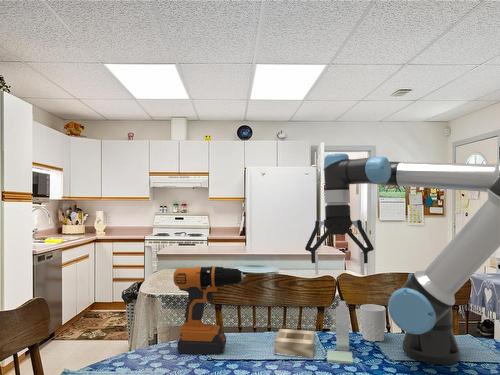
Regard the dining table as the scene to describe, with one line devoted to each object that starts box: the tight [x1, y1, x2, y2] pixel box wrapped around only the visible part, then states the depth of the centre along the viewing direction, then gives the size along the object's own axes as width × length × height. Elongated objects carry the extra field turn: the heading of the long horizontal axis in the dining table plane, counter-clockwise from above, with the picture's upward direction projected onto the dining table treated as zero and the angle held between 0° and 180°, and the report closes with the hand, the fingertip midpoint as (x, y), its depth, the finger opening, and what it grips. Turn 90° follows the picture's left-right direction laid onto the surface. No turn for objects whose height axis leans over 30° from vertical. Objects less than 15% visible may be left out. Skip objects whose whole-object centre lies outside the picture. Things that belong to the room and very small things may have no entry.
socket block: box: [273, 328, 316, 359], centre depth 115 cm, size 11×11×4 cm
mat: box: [326, 349, 354, 365], centre depth 108 cm, size 7×7×1 cm
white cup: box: [359, 303, 387, 343], centre depth 124 cm, size 8×8×10 cm
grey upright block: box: [335, 300, 350, 352], centre depth 116 cm, size 4×6×14 cm, turn 168°
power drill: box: [173, 265, 247, 355], centre depth 114 cm, size 22×7×25 cm, turn 87°
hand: (339, 274), depth 115 cm, fingers open, 13 cm apart
